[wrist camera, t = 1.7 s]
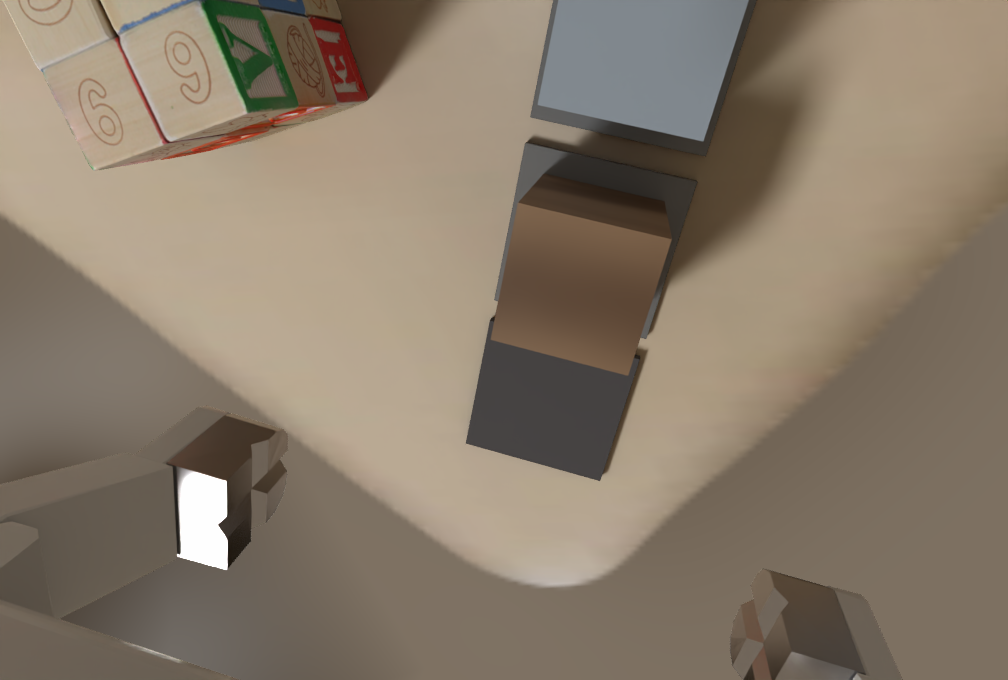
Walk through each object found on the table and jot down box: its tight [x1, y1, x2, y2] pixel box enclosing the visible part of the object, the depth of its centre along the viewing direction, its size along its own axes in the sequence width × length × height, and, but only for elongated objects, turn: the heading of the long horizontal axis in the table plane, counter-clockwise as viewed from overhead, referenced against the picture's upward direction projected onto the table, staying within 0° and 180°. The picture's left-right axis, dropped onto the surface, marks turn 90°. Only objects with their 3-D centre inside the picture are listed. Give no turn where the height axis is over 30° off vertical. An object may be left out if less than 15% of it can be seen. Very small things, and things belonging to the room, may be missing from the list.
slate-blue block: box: [538, 0, 749, 141], centre depth 20 cm, size 5×5×6 cm
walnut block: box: [491, 174, 672, 376], centre depth 23 cm, size 5×5×6 cm
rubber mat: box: [466, 318, 640, 481], centre depth 29 cm, size 7×7×1 cm
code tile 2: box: [530, 0, 757, 156], centre depth 22 cm, size 7×7×1 cm
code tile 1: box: [494, 142, 697, 339], centre depth 26 cm, size 7×7×1 cm
